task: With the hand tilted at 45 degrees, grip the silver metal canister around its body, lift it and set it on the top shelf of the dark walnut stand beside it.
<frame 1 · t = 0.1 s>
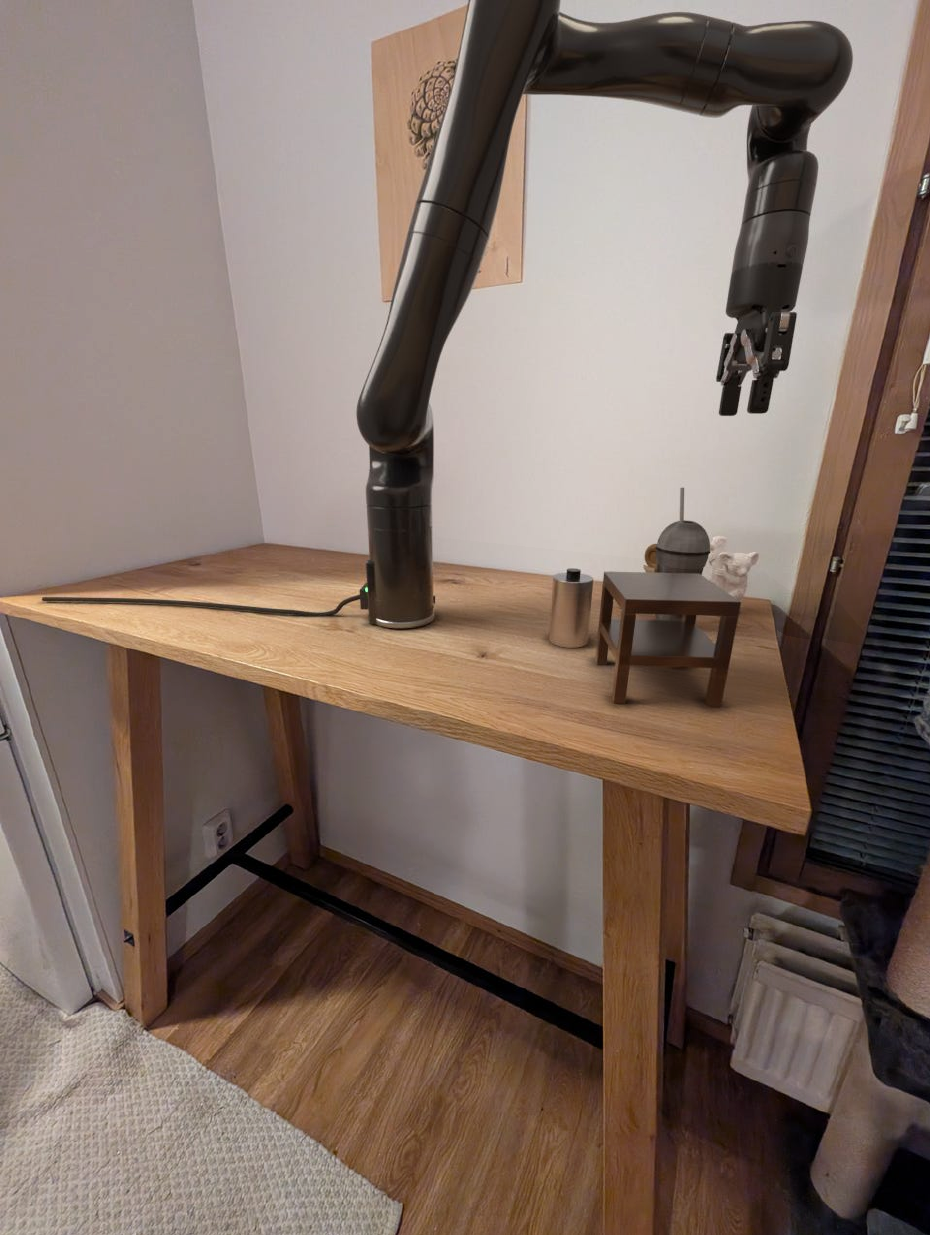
hand: (741, 414, 67), 29 cm above the table, tool pointing down, fingers open, 8 cm apart
beverage cup: (670, 627, 77), on the table
koala figurine: (717, 611, 84), on the table
stand: (652, 681, 59), on the table
silver metal canister: (568, 640, 71), on the table
snail figurine: (653, 608, 85), on the table
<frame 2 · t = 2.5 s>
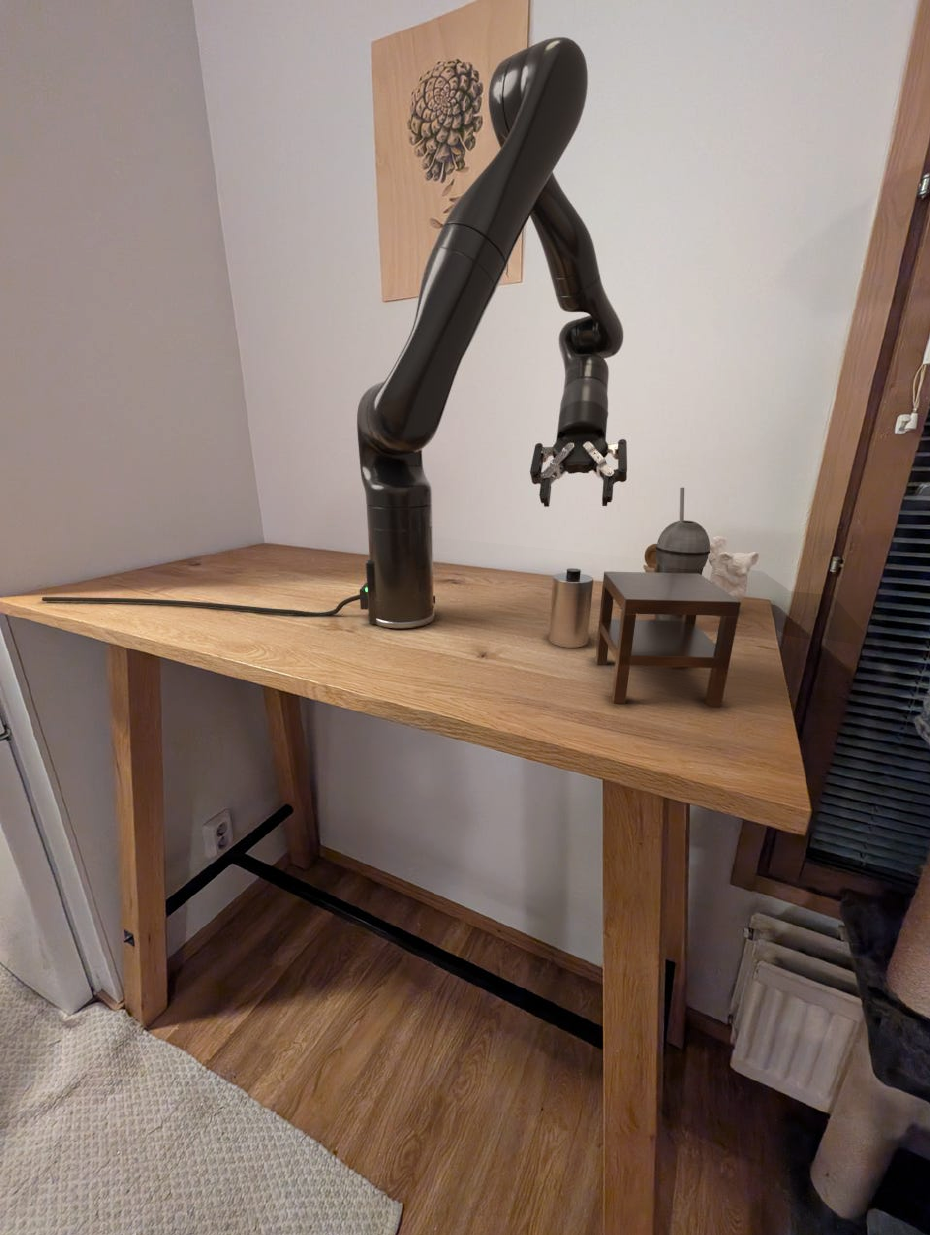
hand: (575, 503, 76), 17 cm above the table, tool tilted 40°, fingers open, 8 cm apart
nothing on the table moved.
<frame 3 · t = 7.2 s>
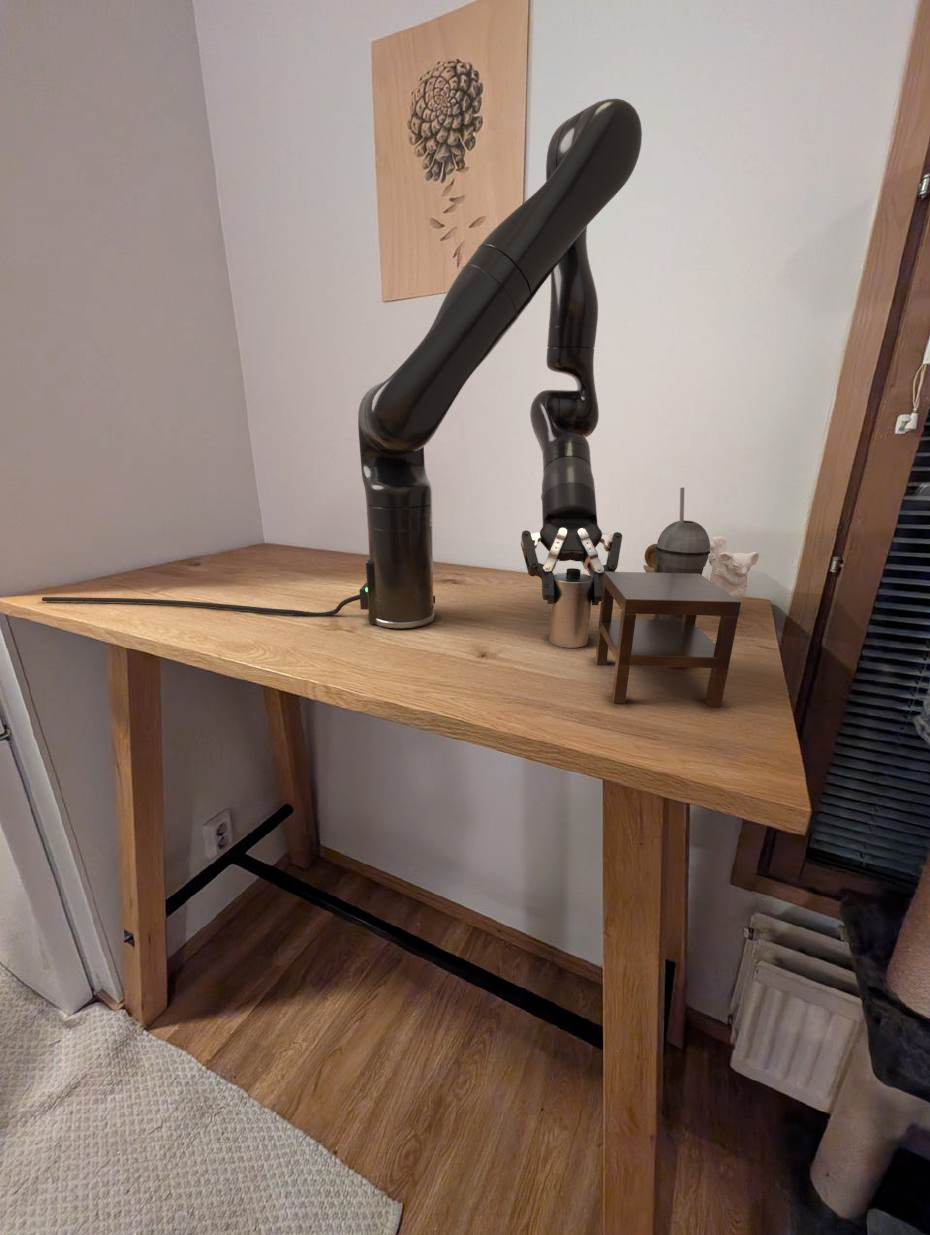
hand: (573, 601, 67), 6 cm above the table, tool tilted 45°, fingers closed on silver metal canister, 5 cm apart
silver metal canister: (568, 640, 71), on the table, touching gripper
everything else where it was.
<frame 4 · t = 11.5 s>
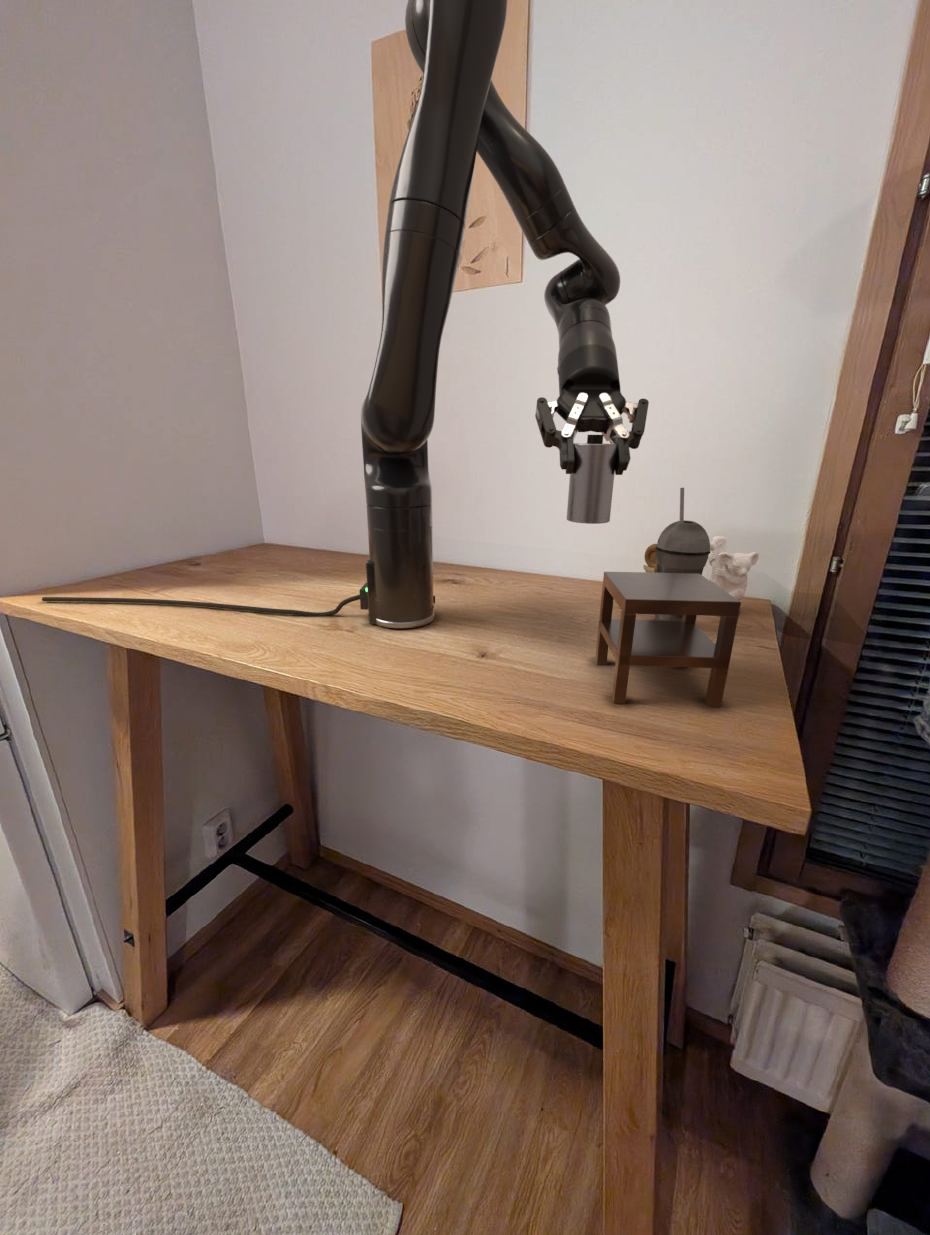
hand: (595, 469, 60), 23 cm above the table, tool tilted 45°, fingers closed on silver metal canister, 5 cm apart
silver metal canister: (587, 520, 64), point 17 cm above the table, touching gripper
everything else where it was.
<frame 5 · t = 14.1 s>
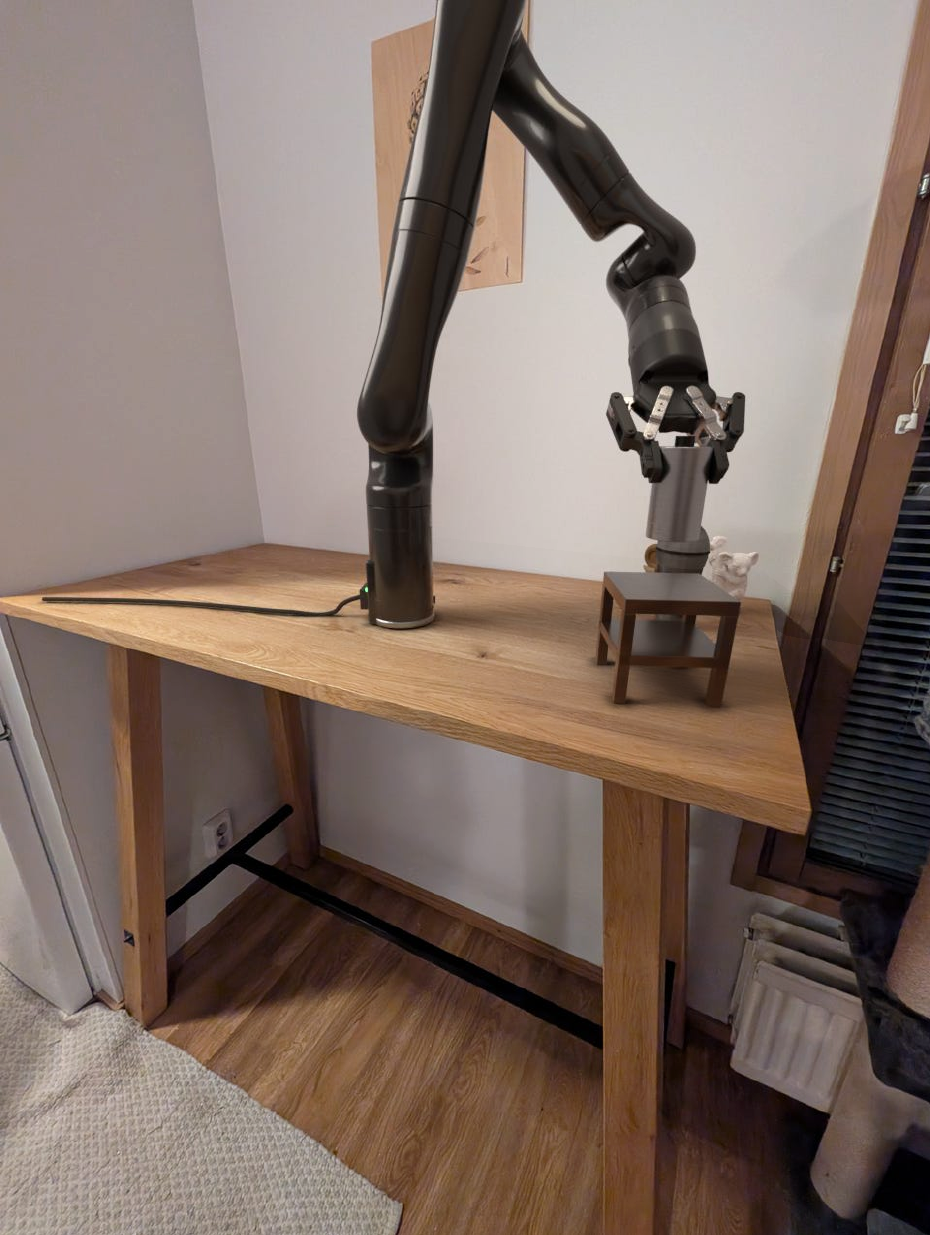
hand: (686, 477, 50), 23 cm above the table, tool tilted 45°, fingers closed on silver metal canister, 5 cm apart
silver metal canister: (671, 537, 54), point 17 cm above the table, touching gripper
everything else where it was.
when the fingers open (18 cm above the table, at t = 16.0 s): silver metal canister stays where it is, resting on stand.
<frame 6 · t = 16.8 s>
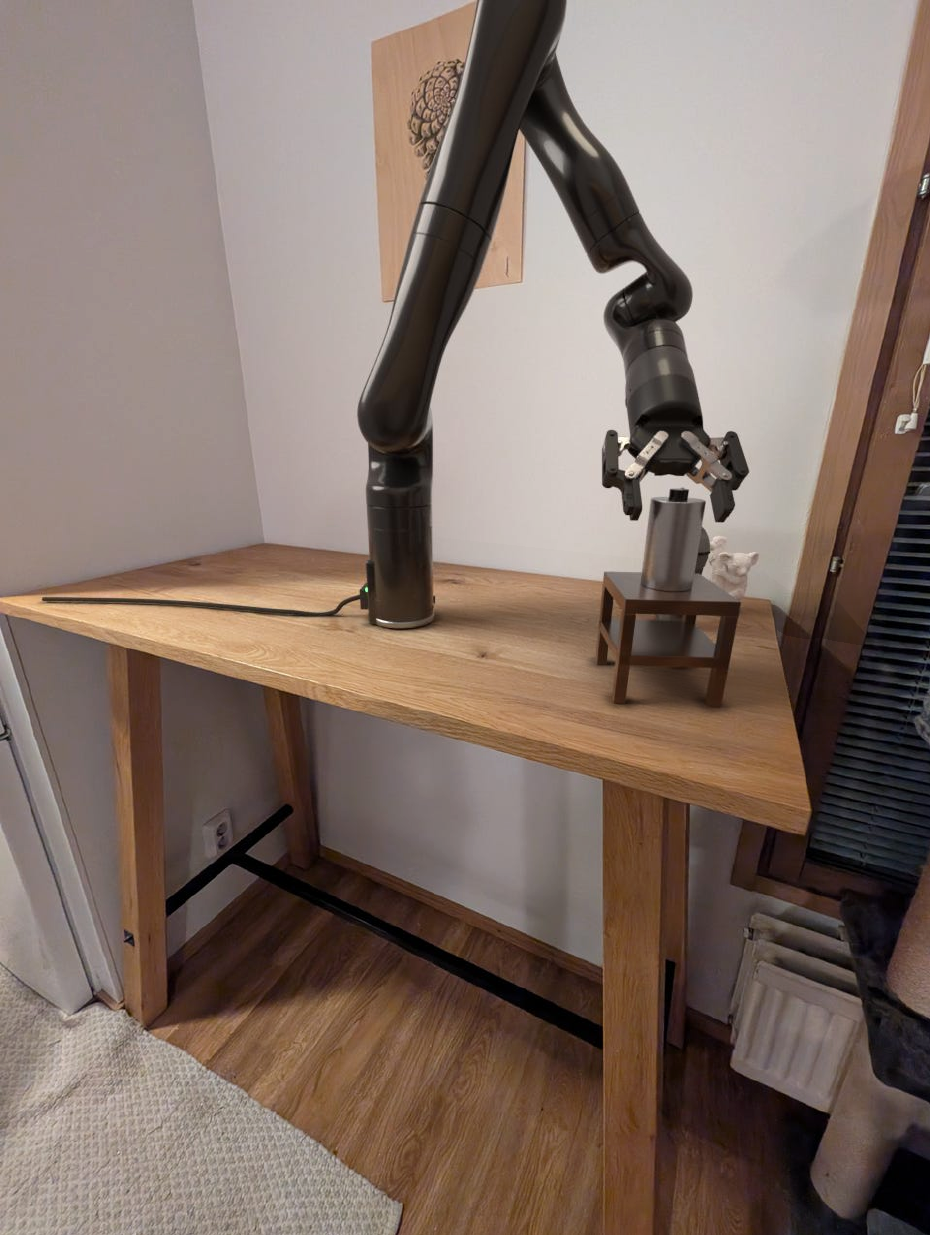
hand: (679, 517, 52), 19 cm above the table, tool tilted 45°, fingers open, 8 cm apart
silver metal canister: (665, 585, 55), point 11 cm above the table, touching stand
everything else where it was.
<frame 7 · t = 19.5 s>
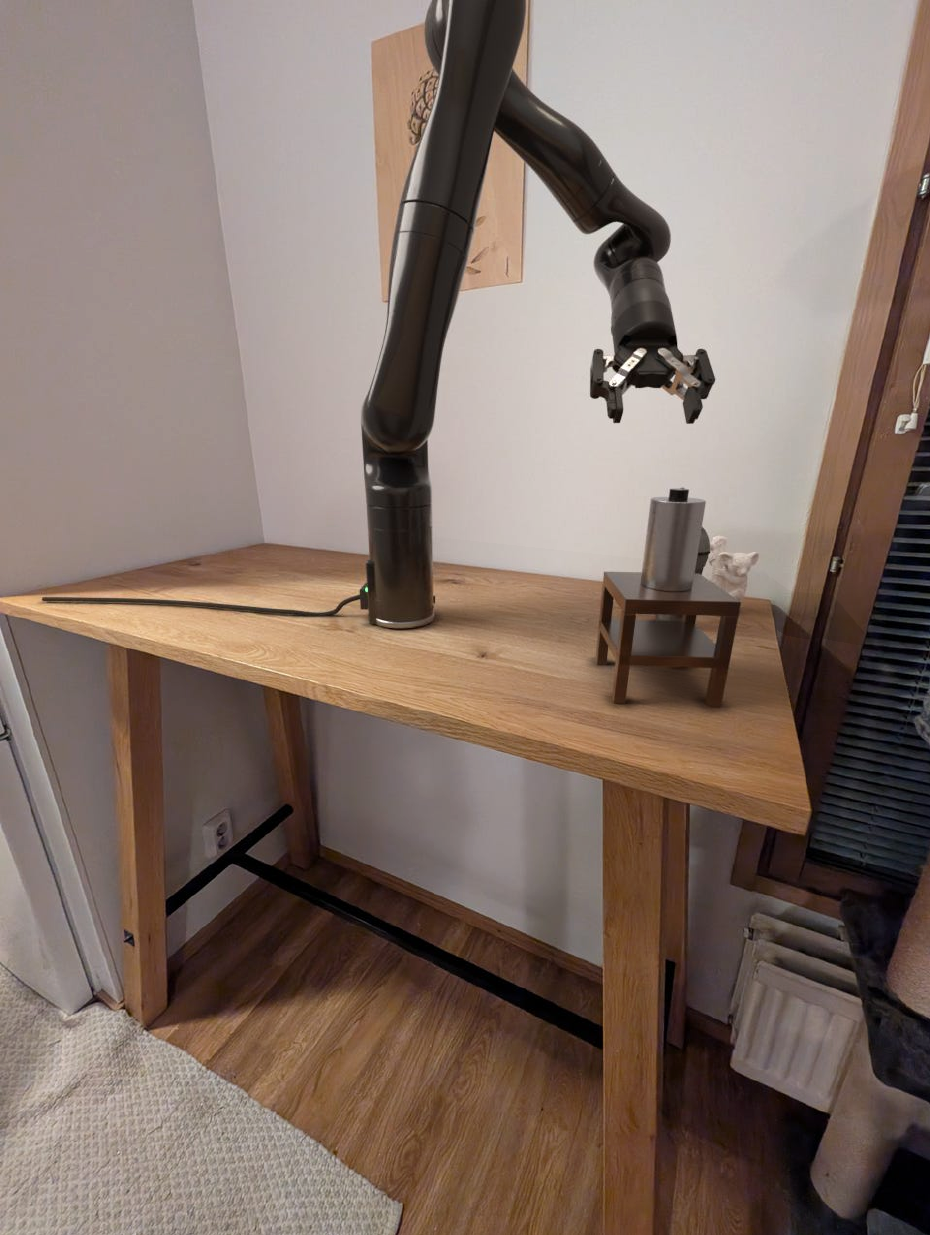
hand: (655, 418, 60), 29 cm above the table, tool tilted 45°, fingers open, 8 cm apart
nothing on the table moved.
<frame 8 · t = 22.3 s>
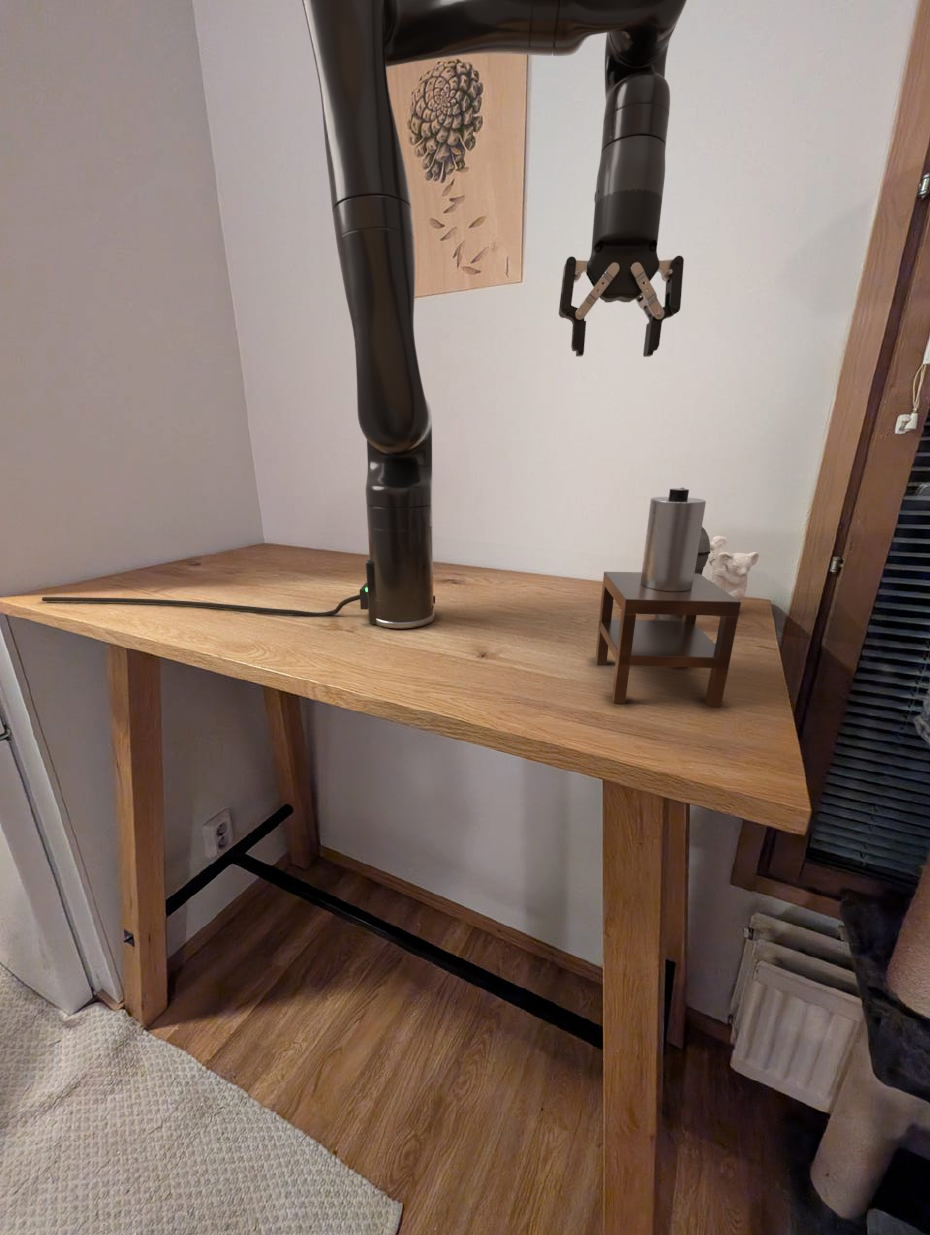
hand: (613, 355, 65), 36 cm above the table, tool pointing down, fingers open, 8 cm apart
nothing on the table moved.
at the end: silver metal canister inside the target area on the stand (0.0 cm from its centre), point 11.5 cm above the stand's base; silver metal canister tilted 0°; the gripper is holding nothing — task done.
